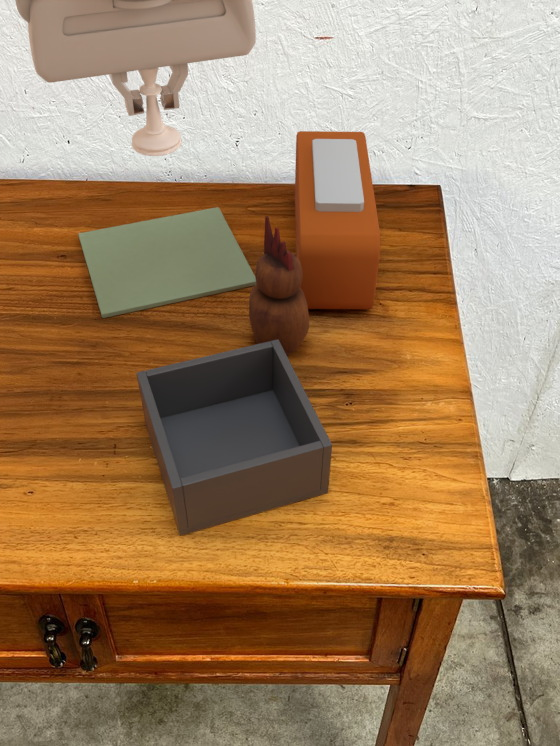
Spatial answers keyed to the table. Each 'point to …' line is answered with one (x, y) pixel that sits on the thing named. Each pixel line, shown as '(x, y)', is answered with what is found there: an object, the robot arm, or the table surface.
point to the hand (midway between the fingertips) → (153, 109)
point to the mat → (164, 261)
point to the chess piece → (154, 122)
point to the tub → (233, 435)
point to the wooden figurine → (278, 296)
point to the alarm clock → (336, 220)
